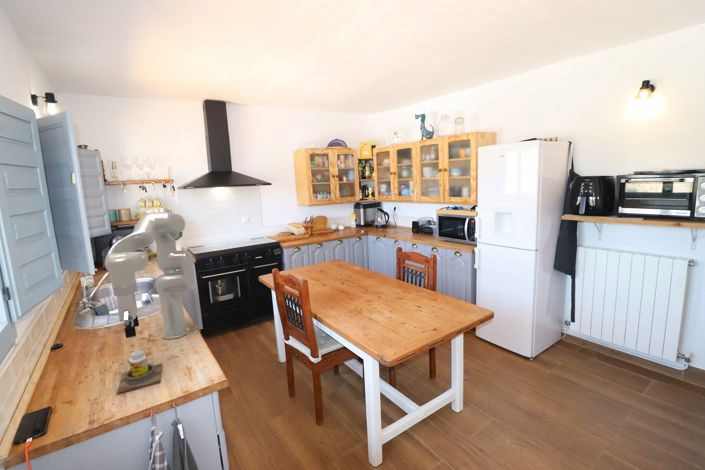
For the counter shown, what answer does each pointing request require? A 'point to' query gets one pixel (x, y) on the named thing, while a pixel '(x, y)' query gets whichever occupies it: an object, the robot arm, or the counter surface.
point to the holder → (140, 379)
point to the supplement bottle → (138, 364)
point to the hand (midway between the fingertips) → (132, 331)
